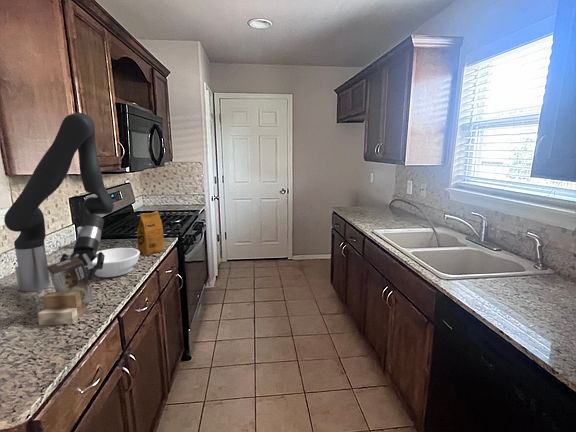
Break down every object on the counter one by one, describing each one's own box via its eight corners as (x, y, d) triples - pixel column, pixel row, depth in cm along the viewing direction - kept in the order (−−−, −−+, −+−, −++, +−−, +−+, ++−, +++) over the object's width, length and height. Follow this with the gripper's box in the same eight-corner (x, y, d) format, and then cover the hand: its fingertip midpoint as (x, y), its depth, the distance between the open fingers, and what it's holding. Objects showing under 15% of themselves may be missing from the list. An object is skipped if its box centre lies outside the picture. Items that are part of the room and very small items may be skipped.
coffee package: (135, 252, 177) (132, 212, 172) (157, 247, 186) (154, 209, 182) (145, 256, 170) (141, 215, 166) (166, 250, 180) (163, 211, 176)
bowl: (76, 274, 146) (74, 256, 144) (126, 261, 163) (125, 245, 162) (99, 286, 132) (97, 267, 131) (151, 270, 150) (149, 253, 148)
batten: (39, 325, 103) (37, 313, 102) (45, 320, 105) (43, 309, 105) (73, 323, 104) (71, 312, 103) (78, 319, 106) (76, 307, 106)
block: (45, 319, 105) (41, 296, 104) (55, 311, 111) (52, 289, 109) (78, 318, 106) (75, 295, 105) (86, 310, 112) (83, 288, 110)
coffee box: (87, 292, 121) (76, 255, 114) (94, 300, 117) (84, 262, 110) (59, 304, 114) (46, 265, 107) (65, 313, 111) (53, 273, 104)
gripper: (63, 236, 119) (48, 277, 110) (104, 234, 121) (93, 275, 112) (73, 246, 125) (60, 285, 116) (111, 244, 127) (102, 283, 118)
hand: (76, 280), depth 114 cm, fingers open, 8 cm apart
